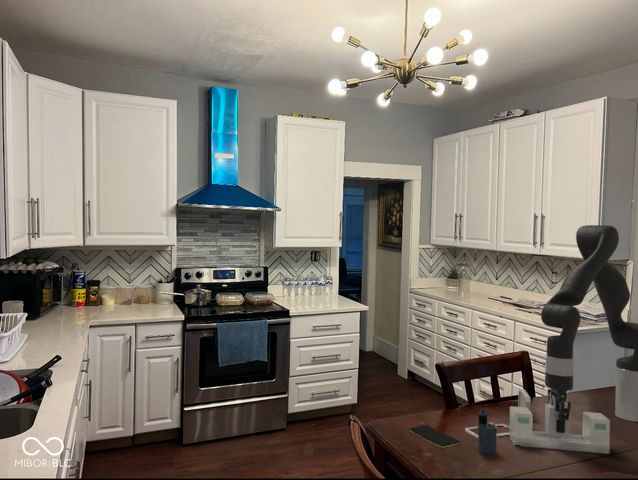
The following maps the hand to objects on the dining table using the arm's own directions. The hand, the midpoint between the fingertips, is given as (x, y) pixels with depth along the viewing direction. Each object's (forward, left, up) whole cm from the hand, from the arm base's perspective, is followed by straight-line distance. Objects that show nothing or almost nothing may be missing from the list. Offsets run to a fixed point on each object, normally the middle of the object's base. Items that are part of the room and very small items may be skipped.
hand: (557, 429), depth 146 cm
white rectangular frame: (+18, -6, -5) cm, 19 cm away
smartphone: (+36, +2, -5) cm, 36 cm away
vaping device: (+22, +10, -5) cm, 25 cm away
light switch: (+3, -26, -5) cm, 27 cm away
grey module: (0, 0, -1) cm, 1 cm away
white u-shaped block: (0, 0, -5) cm, 5 cm away
